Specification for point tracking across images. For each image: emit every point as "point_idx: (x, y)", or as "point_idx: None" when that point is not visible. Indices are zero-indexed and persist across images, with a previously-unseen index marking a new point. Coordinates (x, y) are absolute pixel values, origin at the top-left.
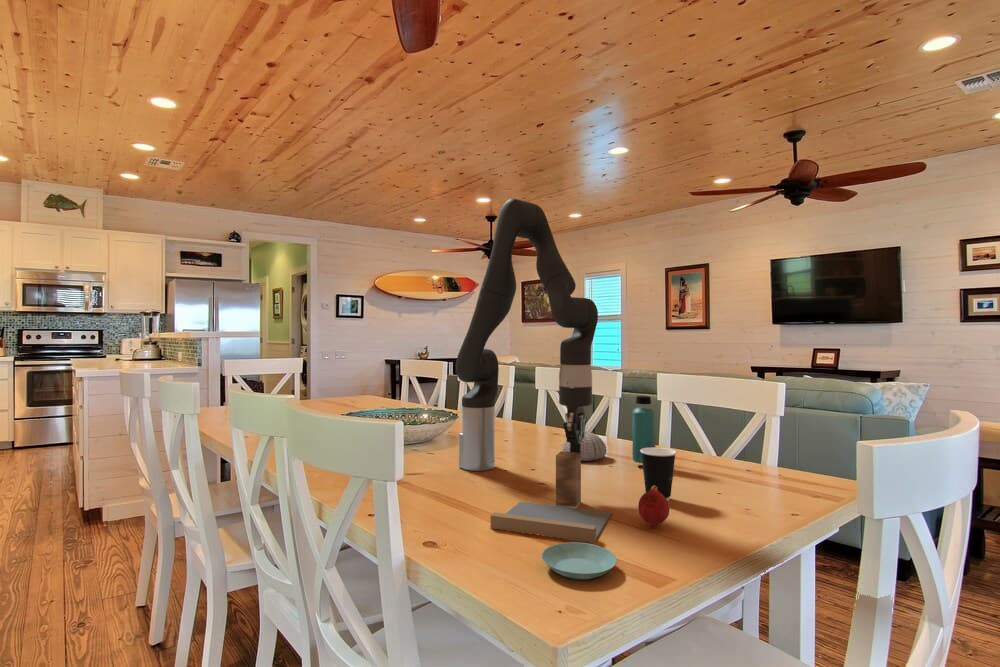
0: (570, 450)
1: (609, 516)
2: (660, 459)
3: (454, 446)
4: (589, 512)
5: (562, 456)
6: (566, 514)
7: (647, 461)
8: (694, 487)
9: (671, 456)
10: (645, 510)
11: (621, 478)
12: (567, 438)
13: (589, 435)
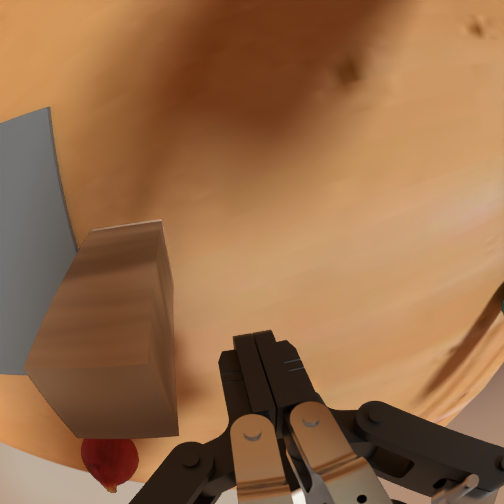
0: (243, 375)
1: None
2: None
3: None
4: None
5: (43, 394)
6: (32, 296)
7: (289, 475)
8: (386, 400)
9: (298, 501)
10: (81, 450)
11: (442, 286)
12: (152, 479)
13: None
